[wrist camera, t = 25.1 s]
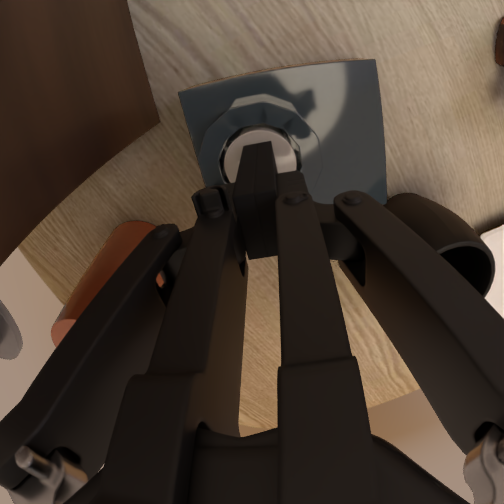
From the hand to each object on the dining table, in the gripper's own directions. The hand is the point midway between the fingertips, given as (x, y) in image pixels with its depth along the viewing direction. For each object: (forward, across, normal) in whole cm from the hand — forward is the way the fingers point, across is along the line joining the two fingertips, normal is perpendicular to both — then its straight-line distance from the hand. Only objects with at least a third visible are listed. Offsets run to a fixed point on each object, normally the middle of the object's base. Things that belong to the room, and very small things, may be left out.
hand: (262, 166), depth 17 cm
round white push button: (+2, 0, 0) cm, 2 cm away
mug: (+7, +11, -11) cm, 17 cm away
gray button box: (+7, +2, 0) cm, 7 cm away
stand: (+7, -15, +9) cm, 19 cm away
